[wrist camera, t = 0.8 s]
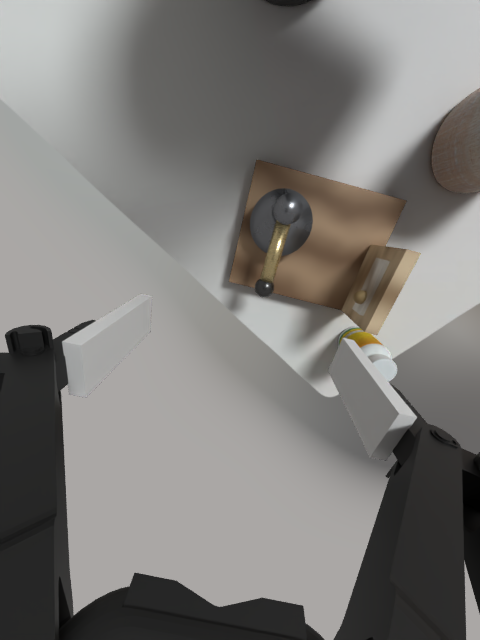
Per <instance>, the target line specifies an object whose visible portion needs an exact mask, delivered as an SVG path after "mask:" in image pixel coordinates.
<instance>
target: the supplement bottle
mask: <svg viewBox="0 0 480 640" xmlns="http://www.w3.org/2000/svg"><path fill="white" fill-rule="evenodd" d="M342 338H346V339H351V340H354V341H355V342H356V344H357V345H358V346H359V347H360V348H361V350H362V351H363V352H364V353H365V355H366V356H367V357H368V358H369V359H370V361H371V362H372V363H373V364H374V365H375V367H376V368H377V369H378V370H379V372H380V373H381V374H382V375H383V376H384V378H385V379H386V380H387V381H390V380H392V378H394V377H395V375H396V373H397V366H396V364H395V363H394V362H393V361H392V357H391V353H390V352H389V350H388V349H387V348H386V347H385V346H384V345H383V344H381V343H380V342H379V341H378V340H377V339H376V338H375V337H374V336H373V335H372V334H370V333H366V332H364V331H363V330H362V329H361V328H360V327H350V328H348V329H346V330H344V331H343V332H342V333H341V335H340V336H339V339H338V346H339V345H340V343H341V340H342Z"/></svg>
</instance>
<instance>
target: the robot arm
mask: <svg viewBox="0 0 480 640" xmlns="http://www.w3.org/2000/svg"><path fill="white" fill-rule="evenodd" d="M266 1H268V2H270V3H273V4H277V5H283V6H293V5H299V4H303V3H306V2H308V1H311V0H266ZM151 312H152V296H150V295H145V294H139V295H138V296H136V297H135V298H133V299H131V300H130V301H128V302H127V303H125V304H123V305H121V306H120V307H118V308H117V309H115V310H113V311H111V312H110V313H109V314H107V315H105V316H103V317H102V318H100V319H98V320H97V321H95V320H91V321H87V322H84V323H81V324H80V325H78V326H76V327H74V329H73V328H72V329H71V330H69V331H68V332H66V333H64V334H62V335H60V336H59V337H57V338H55V339H52V332H51V329H50V328H48V327H46V326H41V325H28V326H21V327H18V328H14V329H12V330H10V331H8V332H7V333H6V334H5V338H6V342H7V346H8V350H9V353H0V640H324V639H323V638H322V637H321V635H320V634H318V633H317V632H316V631H315V630H314V629H313V628H311V627H310V626H309V625H307V624H306V623H305V617H304V609H303V606H301V605H296V604H291V603H286V602H281V601H276V600H271V599H265V598H260V599H255V600H250V601H246V602H241V603H237V604H232V605H228V606H223V607H217V606H214V605H212V604H211V603H209V602H208V601H206V600H205V599H203V598H202V597H200V596H199V595H197V594H196V593H194V592H193V591H191V590H190V589H188V588H186V587H185V586H183V585H182V584H180V583H179V582H177V581H174V580H169V579H164V578H159V577H154V576H149V575H144V574H139V573H134V576H133V579H132V582H131V584H130V587H125V588H121V589H118V590H115V591H112V592H110V593H107V594H106V595H104V596H102V597H100V598H98V599H96V600H95V601H93V602H92V603H90V604H89V605H87V606H86V607H84V608H83V609H81V610H80V611H79V612H78V613H77V614H75V615H74V616H73V600H72V589H71V580H70V571H69V570H70V569H69V550H68V528H67V509H66V486H65V465H64V444H63V423H62V402H61V391H60V390H61V389H62V388H64V387H65V386H66V385H67V384H68V390H69V394H70V395H74V396H79V397H85V398H86V397H87V396H88V395H89V394H90V393H91V392H92V391H93V390H94V389H95V388H96V387H97V386H98V385H99V384H100V383H101V382H102V381H103V380H104V379H105V378H106V377H107V376H108V375H109V374H110V373H111V372H112V371H113V370H114V369H115V368H116V367H117V366H118V365H119V364H120V362H122V361H123V360H124V359H125V357H127V355H128V354H130V352H131V351H132V350H133V349H134V348H135V347H136V346H137V345H138V344H139V343H140V342H141V341H142V340H143V339H144V338H145V337H146V336H147V335H148V334H149V333H150V332H151ZM328 371H329V373H330V375H331V377H332V380H333V382H334V384H335V386H336V388H337V390H338V392H339V394H340V396H341V398H342V400H343V402H344V405H345V407H346V409H347V411H348V413H349V415H350V417H351V419H352V421H353V423H354V425H355V427H356V429H357V431H358V434H359V435H360V438H361V440H362V442H363V444H364V446H365V448H366V450H367V452H368V454H369V457H370V458H375V459H379V460H384V461H386V460H387V459H388V457H389V456H390V455H391V453H392V452H393V453H394V455H395V456H396V458H397V461H396V463H395V464H394V465H393V467H392V468H391V469H390V471H389V472H388V473H387V475H386V477H388V478H389V477H390V478H389V481H388V484H387V487H386V490H385V493H384V497H383V500H382V502H381V506H380V509H379V512H378V515H377V518H376V521H375V524H374V527H373V530H372V533H371V537H370V540H369V543H368V546H367V549H366V552H365V555H364V558H363V561H362V564H361V568H360V570H359V574H358V577H357V580H356V583H355V586H354V589H353V592H352V596H351V598H350V601H349V604H348V608H347V611H346V614H345V617H344V620H343V622H342V625H341V627H340V629H339V631H338V632H337V634H336V636H335V638H334V640H466V616H465V576H464V575H465V573H464V560H465V564H466V567H467V571H468V574H469V578H470V581H471V585H472V588H473V592H474V595H475V599H476V602H477V606H478V609H479V613H480V452H479V454H477V455H476V454H473V453H471V452H469V451H466V450H464V449H462V448H461V447H460V445H459V443H458V442H457V441H456V440H455V439H454V438H453V437H452V436H451V435H450V434H448V433H447V432H445V431H444V430H442V429H440V428H438V427H436V426H433V425H430V424H427V423H426V421H425V420H424V419H423V418H422V417H421V415H420V414H419V413H418V412H417V411H416V410H415V408H414V407H413V406H411V404H410V403H409V401H408V400H406V398H405V397H404V395H403V394H402V393H401V392H400V391H399V390H398V389H397V388H395V387H394V386H393V385H392V384H390V383H389V382H388V381H387V380H386V379H385V378H384V376H383V375H382V374H381V373H380V372H379V370H378V369H377V368H376V367H375V365H374V364H373V363H372V362H371V361H370V359H369V358H368V357H367V356H366V355H365V353H364V352H363V351H362V350H361V348H360V347H359V346H358V345H357V344H356V342H355V341H354V340H351V339H346V338H342V340H341V343H340V345H339V347H338V349H337V352H336V354H335V356H334V358H333V361H332V363H331V365H330V367H329V370H328Z"/></svg>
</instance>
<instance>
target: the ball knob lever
mask: <svg viewBox="0 0 480 640" xmlns="http://www.w3.org/2000/svg"><path fill="white" fill-rule="evenodd" d="M312 224H313V217H312V211H311V208H310V205H309V203H308V202H307V200H306V199H305V198H304V197H303V196H302V195H301V194H300V193H298V192H296V191H294V190H292V189H287V188H281V189H275V190H272V191H270V192H268V193H266V194H265V195H264V196H262V197H261V198H260V199H259V201H258V202H257V203H256V205H255V207H254V208H253V211H252V214H251V218H250V231H251V235H252V238H253V240H254V242H255V243H256V245H257V246H258V247H259V248H260V249H261V250H262V251H264V252H265V253H267V255H266V258H265V262H264V266H263V269H262V273H261V276H260V279H259V280H257V282H256V283H255V292H256V293H257V295H259V296H260V297H268V296H270V295H271V294H272V293H273V291H274V283H273V281H274V278H275V275H276V271H277V268H278V265H279V261H280V258H281V256H284V255H288V254H291V253H293V252H295V251H297V250H298V249H299V248H300V247H302V245H303V244H304V243H305V242H306V240H307V239H308V237H309V235H310V232H311V229H312Z"/></svg>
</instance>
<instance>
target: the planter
mask: <svg viewBox="0 0 480 640" xmlns="http://www.w3.org/2000/svg"><path fill="white" fill-rule="evenodd" d="M431 165H432V170H433V173H434V176H435V178H436V180H437V181H438V183H439V184H440V185H441V186H443V187H444V188H445V189H447V190H449V191H452V192H456V193H474V192H480V88H479V89H478V90H476V91H474V92H473V93H471V94H470V95H469V96H467V97H466V98H465V99H464V100H462V101H461V102H460V103H459V104H458V105H457V106H456V107H455V108H454V109H453V110H452V111H451V112H450V113H449V115H448V116H447V117H446V119H445V120H444V122H443V123H442V125H441V127H440V128H439V130H438V133H437V135H436V137H435V140H434V143H433V148H432V154H431Z"/></svg>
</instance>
